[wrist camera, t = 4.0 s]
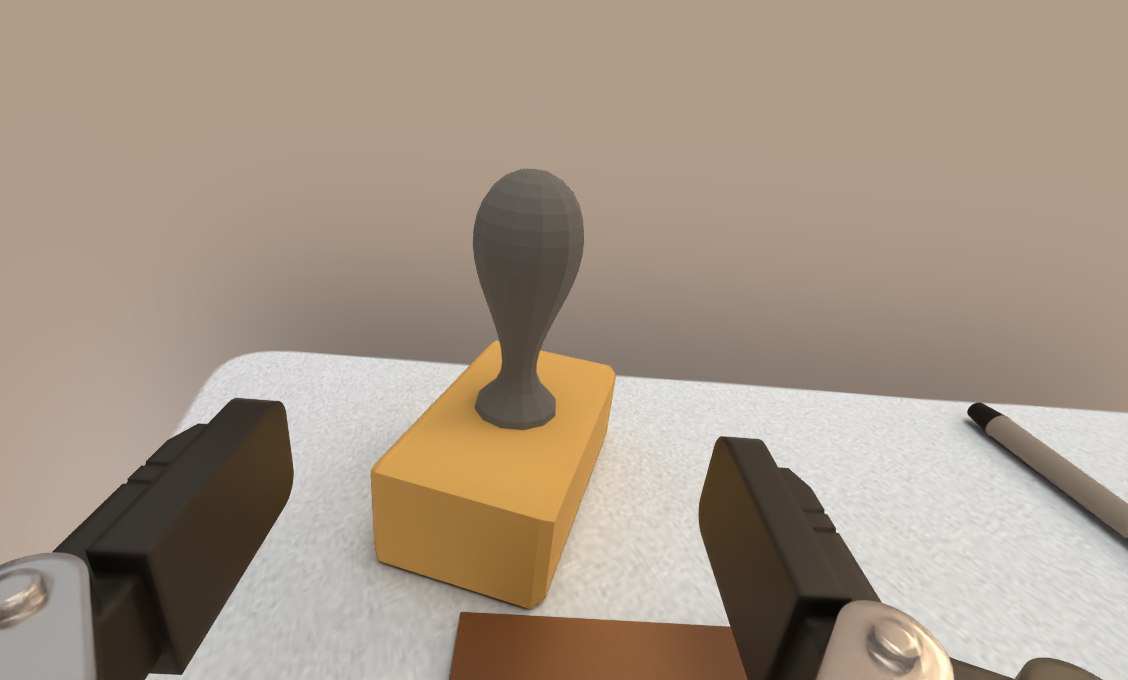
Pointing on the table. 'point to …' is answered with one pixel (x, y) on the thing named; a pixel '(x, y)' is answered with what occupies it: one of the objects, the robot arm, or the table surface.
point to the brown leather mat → (590, 650)
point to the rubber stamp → (502, 417)
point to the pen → (1053, 467)
